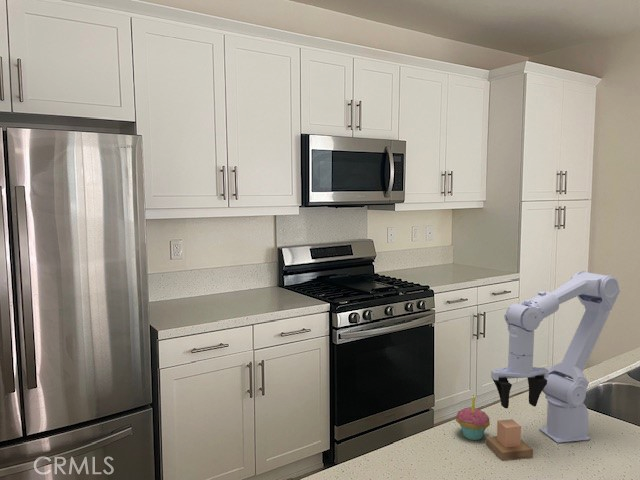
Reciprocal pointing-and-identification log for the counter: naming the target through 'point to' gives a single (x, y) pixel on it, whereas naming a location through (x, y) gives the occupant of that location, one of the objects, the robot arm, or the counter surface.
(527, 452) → the base
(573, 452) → the counter surface
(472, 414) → the cupcake
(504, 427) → the block
